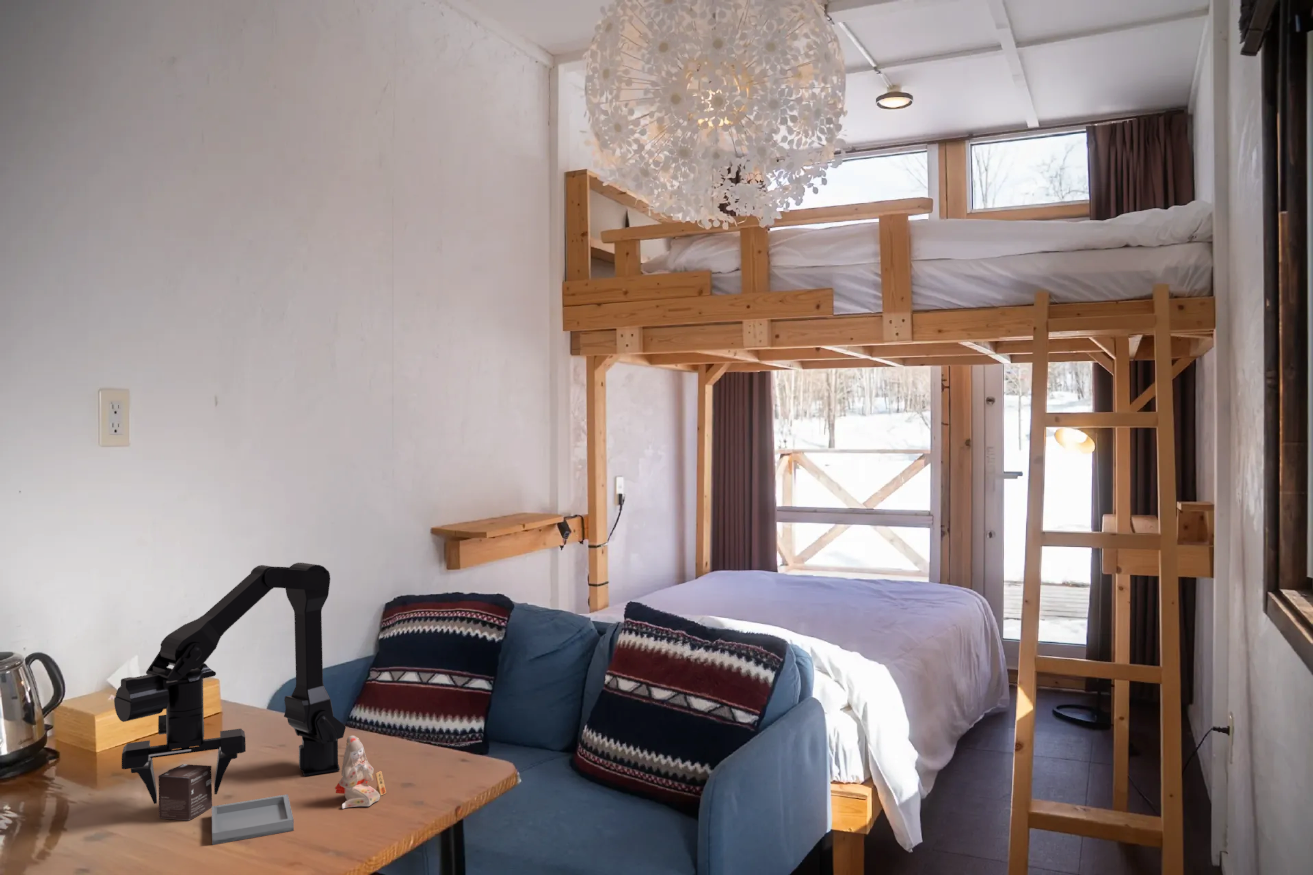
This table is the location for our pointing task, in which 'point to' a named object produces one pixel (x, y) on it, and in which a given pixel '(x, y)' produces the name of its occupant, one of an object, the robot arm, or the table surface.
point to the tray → (251, 819)
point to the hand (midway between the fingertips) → (185, 798)
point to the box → (185, 792)
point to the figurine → (358, 777)
